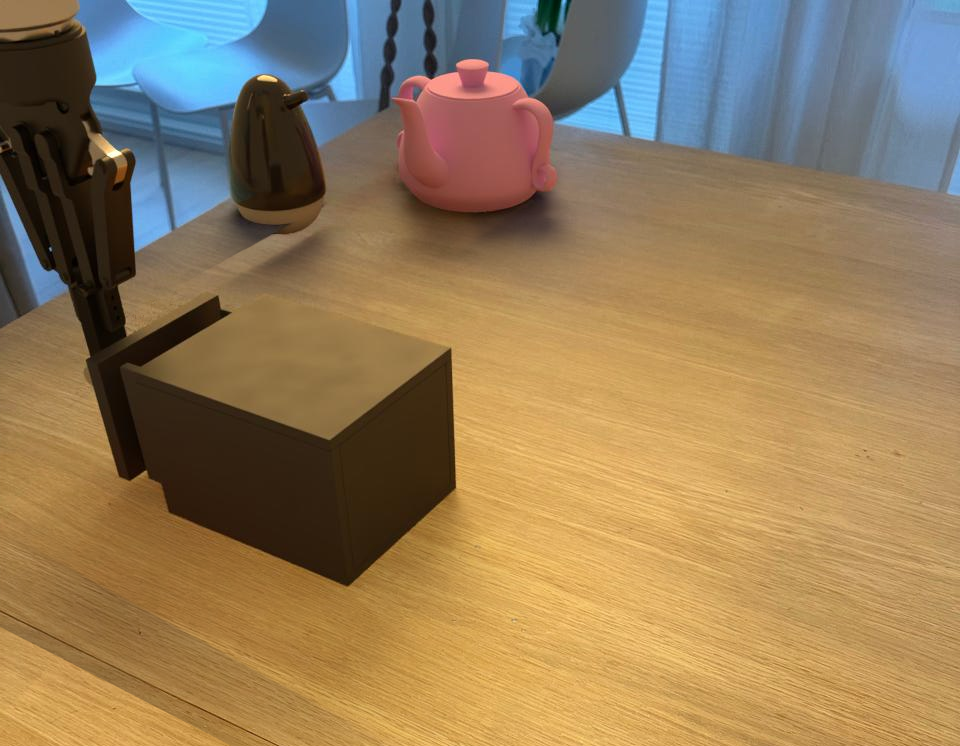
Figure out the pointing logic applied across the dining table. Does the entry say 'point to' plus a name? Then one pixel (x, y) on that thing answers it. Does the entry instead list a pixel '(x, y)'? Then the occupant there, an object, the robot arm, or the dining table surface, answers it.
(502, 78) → the teapot
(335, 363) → the cabinet
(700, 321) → the dining table surface
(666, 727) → the dining table surface
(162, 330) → the drawer
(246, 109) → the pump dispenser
